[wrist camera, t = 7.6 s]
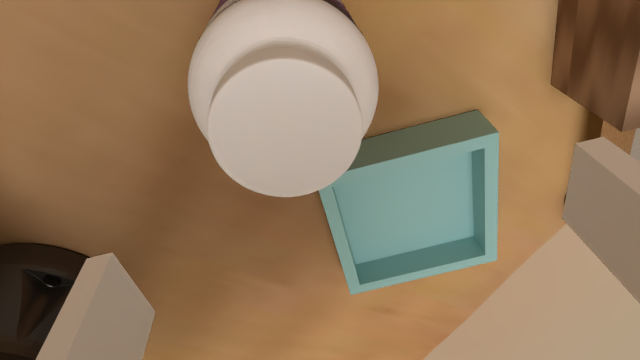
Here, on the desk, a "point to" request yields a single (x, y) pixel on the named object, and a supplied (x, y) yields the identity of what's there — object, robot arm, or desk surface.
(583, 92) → the mount
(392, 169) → the tray
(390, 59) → the desk surface
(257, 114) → the pill bottle
